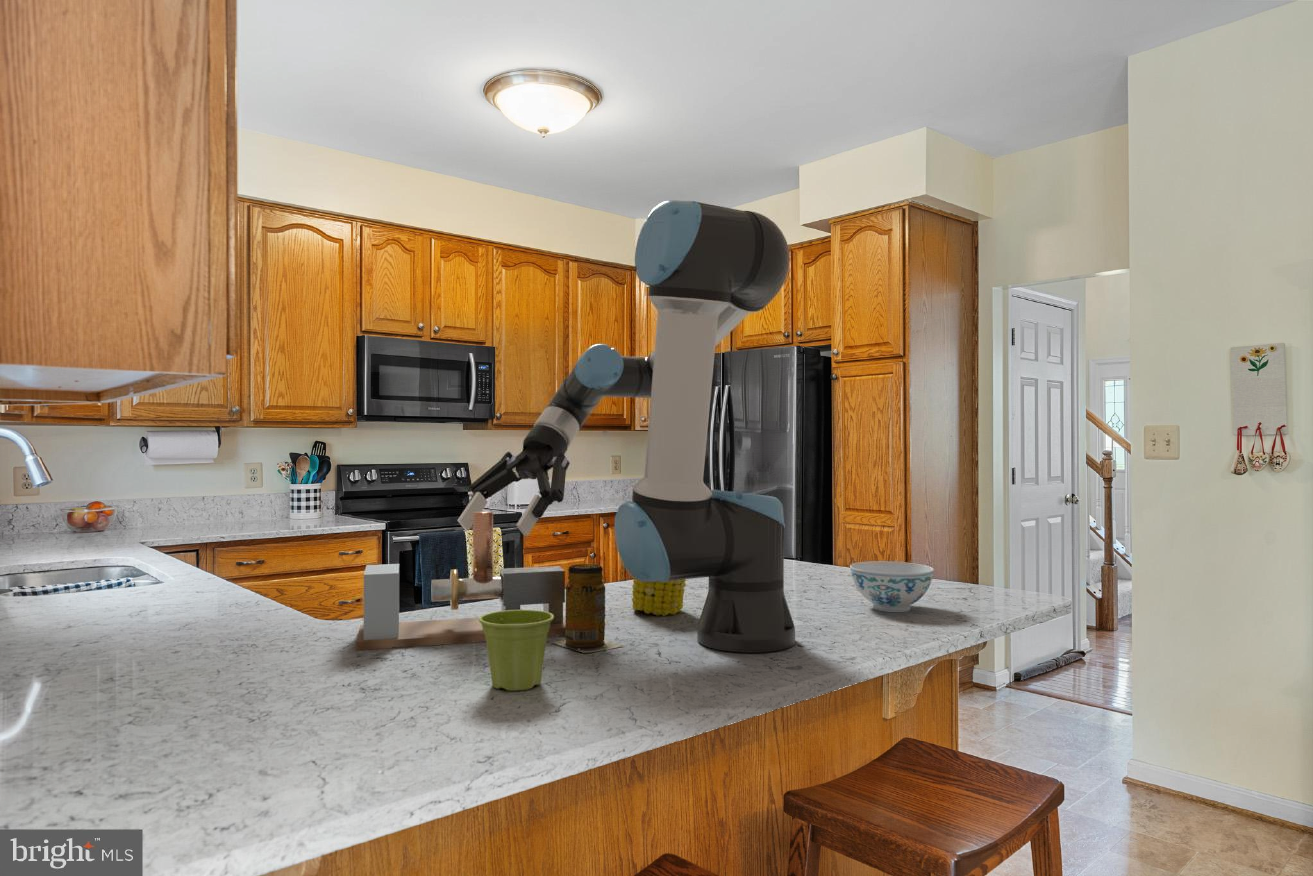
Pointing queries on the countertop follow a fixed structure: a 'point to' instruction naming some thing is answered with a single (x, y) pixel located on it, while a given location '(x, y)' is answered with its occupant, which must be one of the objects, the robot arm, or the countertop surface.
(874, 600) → the chinaware
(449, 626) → the base board
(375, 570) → the socket block
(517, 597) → the grey concrete block
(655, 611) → the food
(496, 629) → the plant pot
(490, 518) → the tube
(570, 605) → the condiment
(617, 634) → the countertop surface
